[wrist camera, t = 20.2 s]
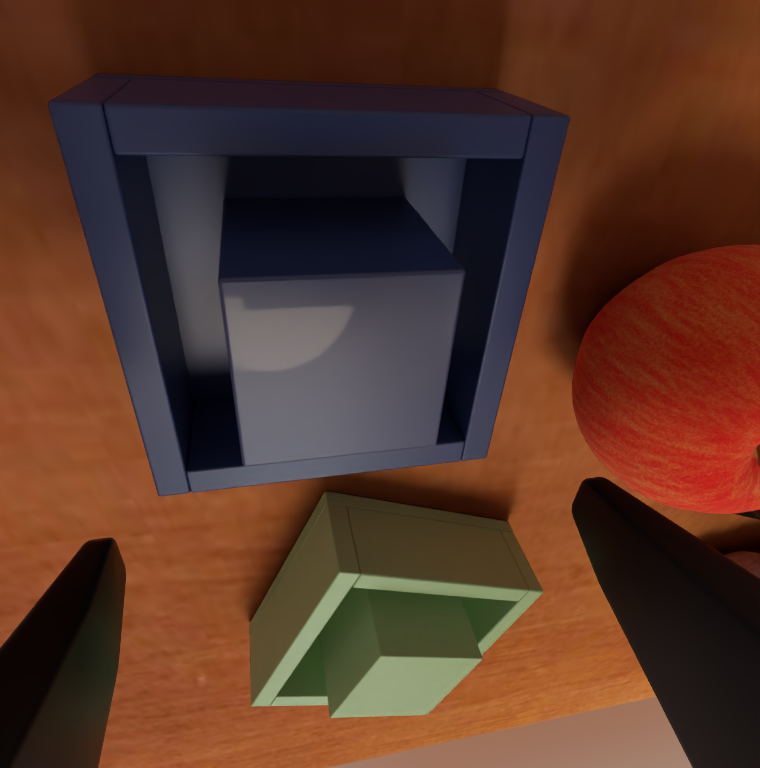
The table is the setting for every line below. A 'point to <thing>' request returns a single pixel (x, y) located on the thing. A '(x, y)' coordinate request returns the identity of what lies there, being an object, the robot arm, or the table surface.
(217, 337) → the navy bin
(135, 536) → the table surface
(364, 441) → the navy block
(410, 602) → the sage block
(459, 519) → the sage bin
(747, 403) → the apple
